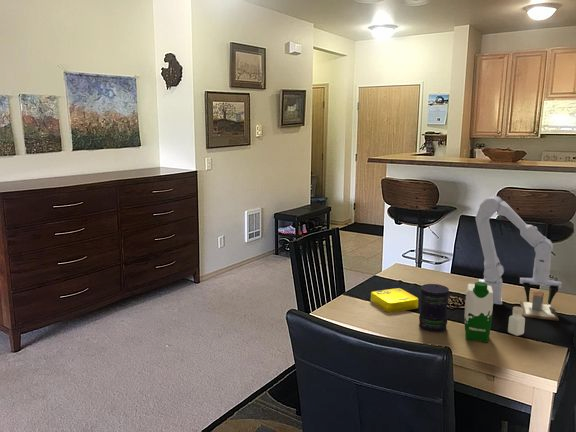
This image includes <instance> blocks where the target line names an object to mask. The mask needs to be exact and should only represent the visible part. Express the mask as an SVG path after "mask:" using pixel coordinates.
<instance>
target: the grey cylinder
mask: <svg viewBox="0 0 576 432" xmlns="http://www.w3.org/2000/svg"><path fill="white" fill-rule="evenodd" d="M544 296H545V292H544V291H543V292H542V291H537V290H535V291H533V293H532V310H536V311H541V310H542V306H543V304H544Z"/></svg>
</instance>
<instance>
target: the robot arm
mask: <svg viewBox="0 0 576 432" xmlns="http://www.w3.org/2000/svg"><path fill="white" fill-rule="evenodd" d="M495 213H496V215H498V216H502V217H505V218H506V219H507V220H509V221H510V222H511V223H512V225H514V226H515V227H516V228H518V230H519V232H520V233H519V234H520V235H519V236H521V237H522V238H523V239H524V240H525V241H526V242H527V243H528V244H529V245H530V246H531V247H533V249H534V253H535V257H534V261H533V262H534V263H533V271H532V272H533V273H532V277H519V284H522V286H523V289H524V292H525V297H526V302H530V293H531V285H535V286H536V285H537V286H545V287H549V290H548V297H547V298H548V299H547V304H549V305H552V301H553V299H554V297H555V295H556V294H557V293H558V291H559V288H562V286H563V285H562V282H561V281H558V280H553V279H550V272H551V265H552V264H551V263H552V251H553V248H554V245H553V242H552V240H551V239H548V238H547V236H545V235H543V234H542V233H541V232H540V231H539V230H538V227H537V226H535V225H533V224H528V223H526V222H525V221H524V220H523V219H522V218H521V217H520V215H518V213H517V212H516V211H515V210H514V209H513V208H512V207H511V206H510V205H509V204H508V203H507V202H506V201H504V200H503V199H502V198H501V197H500V196H498V195H491V196H489V197H488V198H486V199H484V200H483V202H481V203H480V205H479V207H478V211H477V212H476V215H475V224H476V227H477V232H478V236H479V241H480V246H481V249H482V255H483V258H484V261H483V268H484V269H483V270H484V271H483V278H479V279H478V282H482V283H486V284H487V285H488V286H491V287H492V290H493V305H494V304H495V305H500V306H501V305H503V299H502V290H503V281H504V280H503V278H502V275H504V272H505V268H504V266H503V265H502V264H501V261H500V259H499V256H498V253H497V250H496V246H495V240H494V237H493V232H492V228H491V224H490V220H491V218H492V217H493V216H494V214H495Z"/></svg>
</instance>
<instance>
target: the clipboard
mask: <svg viewBox="0 0 576 432" xmlns="http://www.w3.org/2000/svg"><path fill="white" fill-rule="evenodd" d="M532 303H533V301H529V302H527V301H524V300H519V304H520V307H521V308H523V314H522V317H524V318H525V317H526V318H532V319H533V318H534V319H540V320H550V321H557V322H558V321H560V319H559V317H558V315H557V311H556V308H555V307H554V306H553V304H548V303H547V304H546V303H543V306H542V310H541V311H536V310H532Z"/></svg>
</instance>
